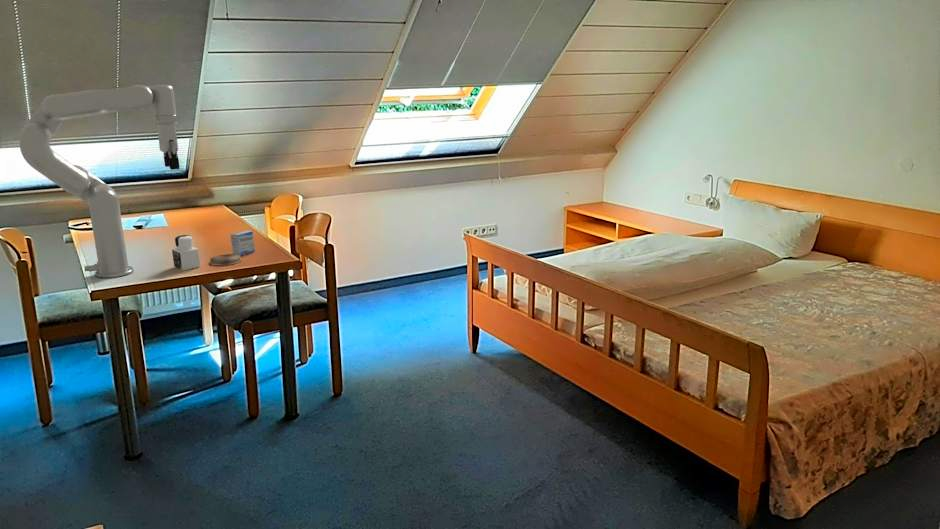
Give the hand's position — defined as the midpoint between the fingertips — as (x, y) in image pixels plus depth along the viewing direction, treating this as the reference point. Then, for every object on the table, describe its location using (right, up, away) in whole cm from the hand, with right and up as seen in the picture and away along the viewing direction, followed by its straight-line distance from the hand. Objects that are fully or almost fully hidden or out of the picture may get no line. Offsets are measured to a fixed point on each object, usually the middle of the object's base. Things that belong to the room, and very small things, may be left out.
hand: (172, 167), depth 256 cm
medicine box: (+19, -31, +24) cm, 44 cm away
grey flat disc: (+16, -34, +12) cm, 40 cm away
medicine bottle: (+4, -37, +5) cm, 37 cm away
